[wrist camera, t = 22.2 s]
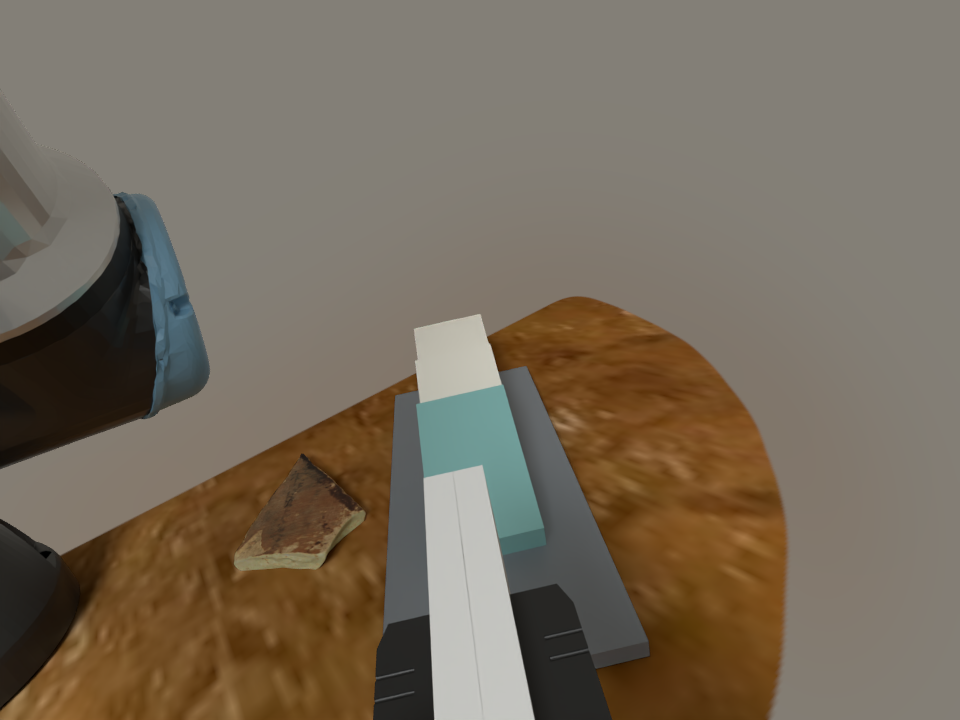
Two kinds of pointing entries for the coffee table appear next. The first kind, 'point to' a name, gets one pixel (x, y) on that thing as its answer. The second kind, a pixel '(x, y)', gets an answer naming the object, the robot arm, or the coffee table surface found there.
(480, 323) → the ivory domino
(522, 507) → the teal domino
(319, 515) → the shard
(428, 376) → the ivory domino
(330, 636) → the coffee table surface
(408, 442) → the slate runway
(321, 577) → the coffee table surface
